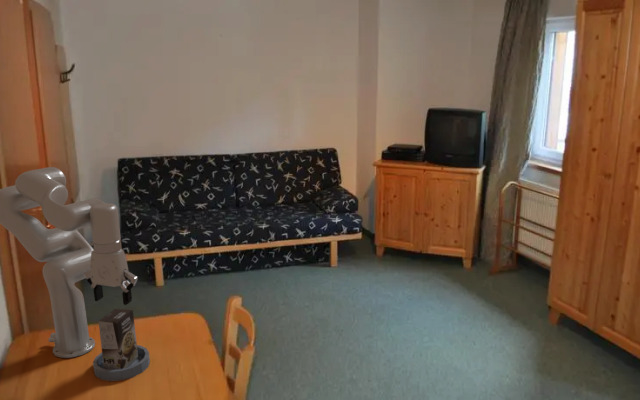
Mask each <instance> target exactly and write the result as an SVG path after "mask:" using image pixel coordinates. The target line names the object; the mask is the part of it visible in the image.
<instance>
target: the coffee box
mask: <svg viewBox="0 0 640 400" xmlns="http://www.w3.org/2000/svg"><path fill="white" fill-rule="evenodd" d="M134 317H135V316H134V310H133V309H126V308H125V309H124V308H123V309H121V308H114V309H113V310H112V311H110V312H109V313H108V314H106V315H105V316H104V317H102V318H100V319H99V320H98V329H99V337H100V347H101V353H102V355H103V364H104V369H108V370H117V369H124V368H127V367H129V366H130V365H131V364H132V363H133V362H134V361H135V360H136V359H137V358H138V351H137V345H138V344H137V334H136V325H135V318H134Z"/></svg>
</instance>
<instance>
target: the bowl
mask: <svg viewBox="0 0 640 400" xmlns="http://www.w3.org/2000/svg"><path fill="white" fill-rule="evenodd" d="M137 351H138V358H137V359H136V360H135V361H134V362H133V363H132V364H131V365H130V366H129V367H127V368H124V369H117V370H108V369H104V364H103V355H102V352H100V353H99V354H98V355H96V356H95V358H94V360H93V362H92V366H93V373H94V375H95V378H98V379H99V380H101V381H107V382H116V381H125V380H127V379H131V378H135V377H136V376H138V375H140V374H142V373H143V372H145V371H146V370H147V369H148V368H149V365H150V363H151V358H150V352H149V349H148V348H146V347H144V346H142V345H138V344H137Z"/></svg>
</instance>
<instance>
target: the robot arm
mask: <svg viewBox="0 0 640 400" xmlns="http://www.w3.org/2000/svg"><path fill="white" fill-rule="evenodd" d="M68 191H69V190H68V188H67V177H66V175H65V174H64V172H63V171H62V170H61V169H59V168H58V167H54V166H48V167H43V168H38V169H31V170H27V171H25V172H22V173H21V174H20V175H18V176H17V178H16V179H15V182H14V185H9V186H6V187H2V188H0V225H1V226H2V227H3V228H4V229H6V230H7V231H8V232H9V233H11V234H12V235H13V236H14V237H15V239H17V240H18V242H19V243H20V244H21V245H22V247H23V248H24V249H25V251H27V252H28V254H29V255H30V256H31V257H32V258H33V259H34V260H35V261H37V262H39V263H45V262H46V263H45V264H44V265H43V267H42V277H43V279H44V282H45V284H46V287H47V290H48V295H49V299H50V304H51V311H52V318H53V319H52V320H53V323H54V324H53V325H54V331H55V332H51V333H50V334H49V335H50V336H49V337H48V342H49V343H53V344H54V346H53V347H52V353H53V355H54V356H55V357H58V358H62V359H69V358H70V359H71V358H75V357H80V356H83V355H85V354H88V352H90V351H92V350H93V349H94V347H95V346H96V340H95V339H94V338H93V337H91V336H90V335H89V327H88V320H87V312H86V305H85V299H84V294H83V292H82V291H81V290H80V289H79V288H78V287H77V286H76V285H75V284H76V283H78V282H80V281H82V280H84V279H86V281H87V283H88V284H89V285H90V288H91V289H93V297H94V302H98V301H100V300H101V299H103V298H104V290H103V286H105V287H112V288H116V287H117V288H118V287H120V288H121V289H122V291H123V292H122V294H121V295H122V304H123V306H127V305H128V304H129V303H131V302H132V301H133V300H132V299H133V295H132V289H134V287H135V286H136V285H137V282H138V279H139V276H137V275H135V274H133V273H132V272H131V271H129V266H128V262H127V257H126V253H125V250H124V249H122V240H121V239H122V238H121V230H120V220H119V211H118V210H119V209H118V206H117V205H116V204H114V203H110V202H105V201H103V200H101V199H98V198H89V199H86V200H81V201H77V202H74V203H73V202H72V203H69V204H66V203H67V201H68V198H69V192H68ZM38 207H41V211H42V214H43V216H44V218H45V220H46V221H47V222H48V223H49V224H50V225H51V226H53V227H54V228H48V227H46V226H45V225H44V224H43V223H42V222H41V221H40V220H39V219H38V218H37V217H35V216H33V215H31V214H28V213H27V212H26V213H25V212H23V211H26V210H31V209H34V208H38ZM88 227H90V229H91V237H92V239H91V241H90V242H88V241H87V240H86V238H84V236H83V235H82V234H81V233H80V232H79V231H78V230H80V229H84V228H88ZM129 280H130V281H129Z"/></svg>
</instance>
